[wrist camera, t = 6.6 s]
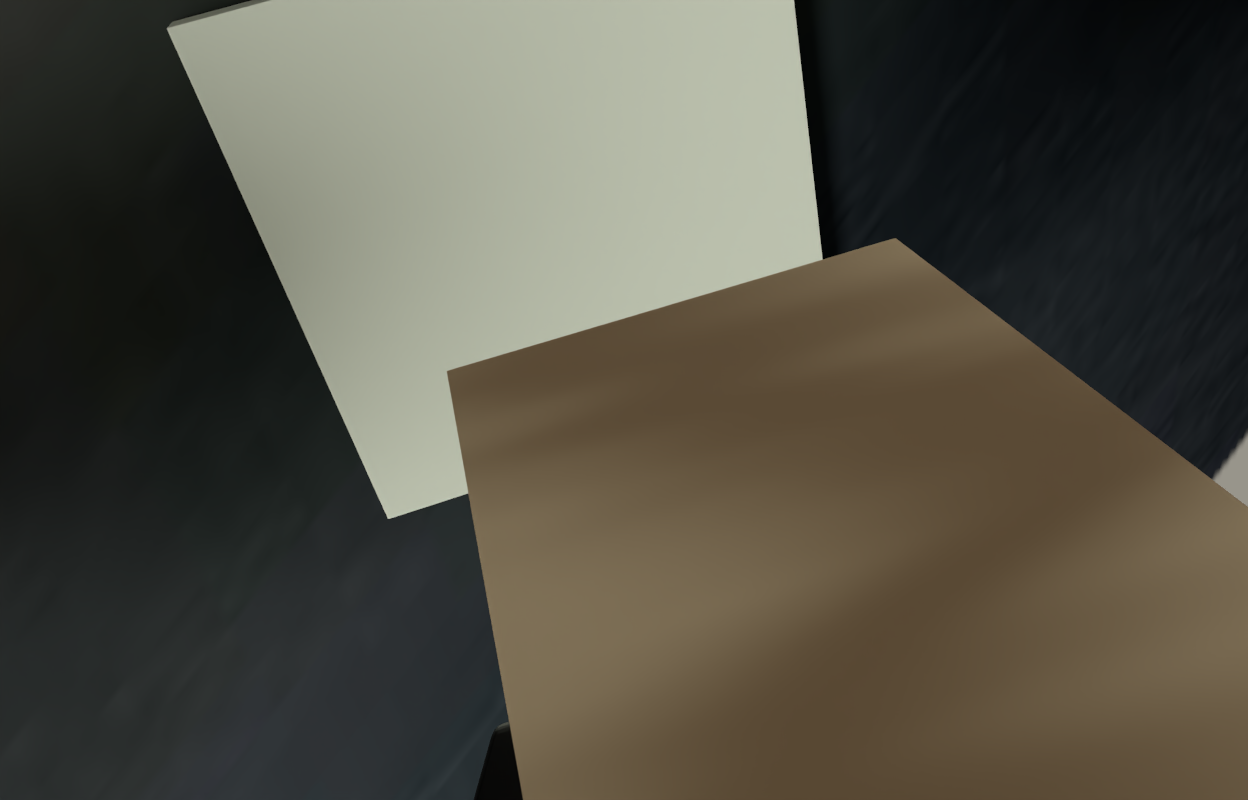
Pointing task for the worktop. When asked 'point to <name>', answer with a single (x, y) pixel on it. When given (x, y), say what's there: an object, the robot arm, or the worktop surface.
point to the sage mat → (498, 181)
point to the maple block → (847, 557)
